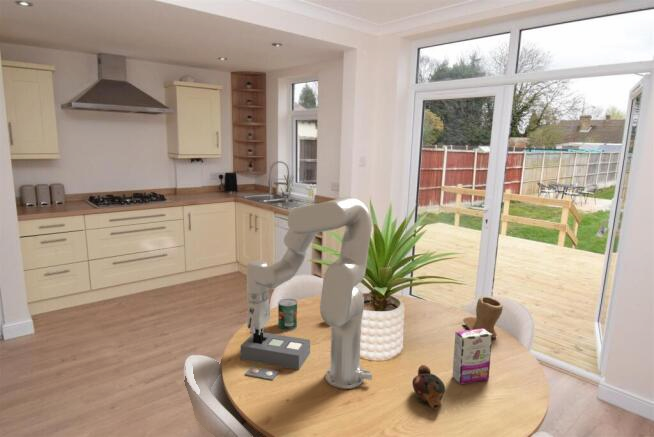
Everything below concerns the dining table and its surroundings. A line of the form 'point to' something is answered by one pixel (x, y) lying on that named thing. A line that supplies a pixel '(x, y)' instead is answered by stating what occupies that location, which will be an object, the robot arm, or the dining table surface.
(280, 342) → the sage key
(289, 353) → the keypad housing
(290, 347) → the off-white key
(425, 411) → the dining table surface
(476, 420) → the dining table surface
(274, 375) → the card
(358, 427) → the dining table surface
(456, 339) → the candy bar box
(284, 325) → the canned tomato
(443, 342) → the dining table surface
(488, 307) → the tan boot
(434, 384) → the decorative turtle
